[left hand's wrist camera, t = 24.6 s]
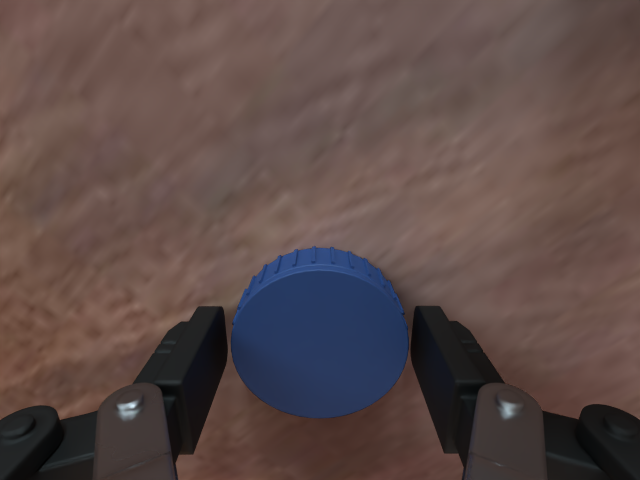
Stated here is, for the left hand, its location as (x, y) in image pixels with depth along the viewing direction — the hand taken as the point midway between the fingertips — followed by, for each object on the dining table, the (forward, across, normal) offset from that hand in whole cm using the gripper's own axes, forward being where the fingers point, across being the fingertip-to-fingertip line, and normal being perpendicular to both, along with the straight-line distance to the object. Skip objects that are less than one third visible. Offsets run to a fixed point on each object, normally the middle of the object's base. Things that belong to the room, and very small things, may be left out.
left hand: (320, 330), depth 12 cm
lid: (-1, 0, 0) cm, 1 cm away
